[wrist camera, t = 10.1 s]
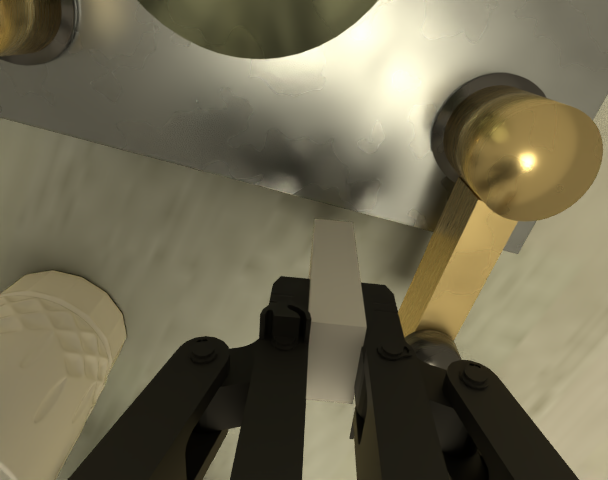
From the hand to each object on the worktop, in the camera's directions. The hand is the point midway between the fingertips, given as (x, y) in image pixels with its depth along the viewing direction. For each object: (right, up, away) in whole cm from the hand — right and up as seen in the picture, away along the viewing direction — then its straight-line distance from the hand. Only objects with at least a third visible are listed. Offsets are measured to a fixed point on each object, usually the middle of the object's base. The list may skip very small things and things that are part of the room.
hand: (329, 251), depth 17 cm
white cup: (-14, -4, +7) cm, 16 cm away
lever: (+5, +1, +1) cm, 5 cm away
